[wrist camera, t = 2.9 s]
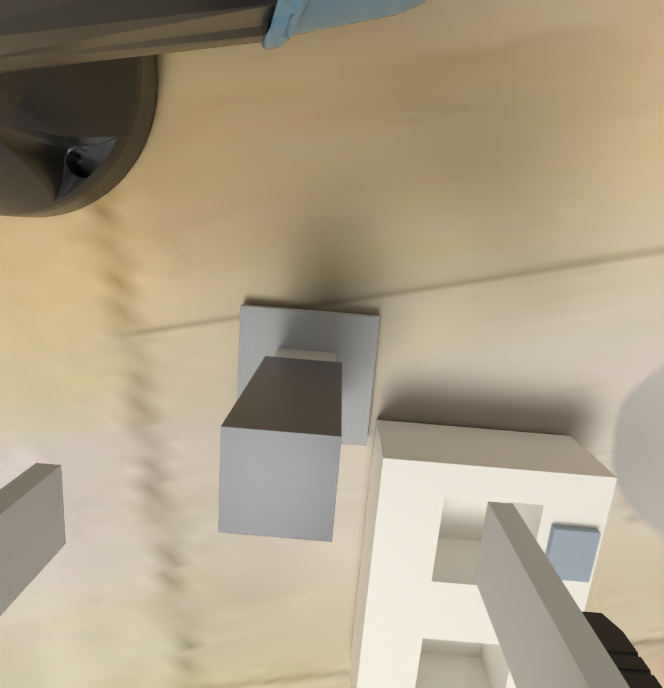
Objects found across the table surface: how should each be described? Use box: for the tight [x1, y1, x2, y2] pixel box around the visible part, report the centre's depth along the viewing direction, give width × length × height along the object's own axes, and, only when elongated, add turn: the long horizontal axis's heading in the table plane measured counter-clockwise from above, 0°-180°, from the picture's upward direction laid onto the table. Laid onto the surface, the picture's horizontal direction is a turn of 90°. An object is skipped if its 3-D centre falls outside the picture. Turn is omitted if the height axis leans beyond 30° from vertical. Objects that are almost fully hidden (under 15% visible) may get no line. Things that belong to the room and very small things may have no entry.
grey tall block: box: [218, 348, 342, 542], centre depth 22 cm, size 4×4×12 cm
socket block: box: [350, 420, 617, 688], centre depth 28 cm, size 18×12×5 cm, turn 175°
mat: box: [237, 304, 380, 446], centre depth 28 cm, size 8×8×1 cm
